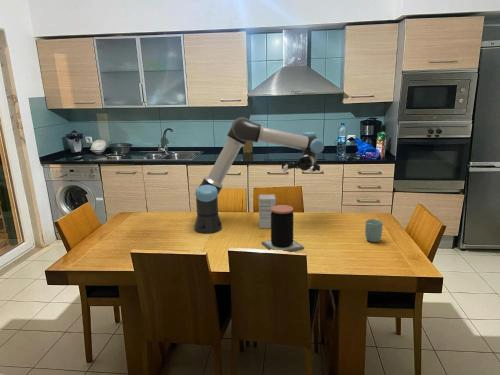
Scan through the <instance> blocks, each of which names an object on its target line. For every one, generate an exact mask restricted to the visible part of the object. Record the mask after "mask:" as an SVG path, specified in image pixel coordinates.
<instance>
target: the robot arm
mask: <svg viewBox="0 0 500 375" xmlns="http://www.w3.org/2000/svg"><path fill="white" fill-rule="evenodd" d="M226 136H227V140H226V141H225V144H224V146H223V148H222V150H221V151H220V153H219V154H218V158H217V159H216V161H215V163H214V165H213V167H212V168H211V170H210V172H209V174H208V175H207V176H204V177H203V180H202V181H201V183H200V184H199V185H198V187H197V188H196V189H195V194H194V195H195V200H196V201H195V203H196V205H195V206H196V218H195V222H194V231H195V232H197V233H200V234H214V233H216V232H217V233H218V232H220V231H221V230H222V229H223V223H222V221H221V218H220V215H219V199H218V198H219V197H218V196H219V194H220V192H221V190H222V188H223V185H222V183H223V182H224V179H225V178H226V175H227V174H228V172H229V170H230V169H231V167H232V165H233V163H234V161H235V159H236V157H237V155H238V154H239V152H240V150H241V148H242V147H245V146H246V145H247V142H251V143H259V142H262V143H267V144H272V145H277V146H282V147H287V148H291V149H297V150H300V151H302V156H301V157H300V158H299V159H298V161H295V162H294V161H290V162H285V163H281V169H282V170H283V171H282V172H283V173H286V172H288V170H291V169H296V170H299V169H300V170H301V171H308V170H309V175H312V174H313V173H314V172H320V171H321V165H319V163H317V160H318V156H317V155H318V154H320V153H322V152H323V151H324V149H325V143H324V142H323V140H321V139H319V138H318V136H317V133H316V132H315V131H306V132H303V134H296V133H292V132H288V131H284V130H280V129H279V130H277V129H273V128H268V127H264V126H263V125H262V124H259V123H255V122H253V121H252V120H250V119H249V118H246V117H244V116H243V117H241V116H239V117H237V118H235V119H234V120H233V121H232V123H231V127H230V129H229V131H228V133H227V135H226Z"/></svg>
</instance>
